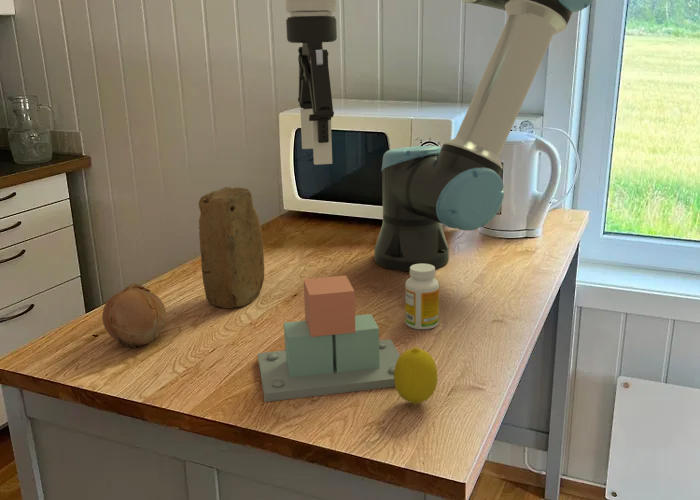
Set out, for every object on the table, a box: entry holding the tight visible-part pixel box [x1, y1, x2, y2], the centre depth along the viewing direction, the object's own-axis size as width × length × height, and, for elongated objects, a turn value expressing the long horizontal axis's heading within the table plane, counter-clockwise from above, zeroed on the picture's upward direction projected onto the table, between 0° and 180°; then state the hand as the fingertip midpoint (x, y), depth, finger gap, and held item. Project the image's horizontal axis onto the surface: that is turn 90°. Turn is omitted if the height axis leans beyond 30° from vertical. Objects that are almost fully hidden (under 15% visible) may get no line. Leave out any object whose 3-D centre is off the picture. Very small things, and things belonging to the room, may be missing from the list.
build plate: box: [257, 313, 401, 403], centre depth 99 cm, size 20×12×7 cm, turn 101°
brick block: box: [303, 275, 356, 337], centre depth 97 cm, size 6×6×6 cm
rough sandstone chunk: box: [198, 186, 265, 309], centre depth 124 cm, size 11×8×20 cm
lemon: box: [394, 346, 438, 406], centre depth 90 cm, size 6×6×8 cm
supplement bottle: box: [404, 263, 440, 330], centre depth 114 cm, size 5×5×10 cm
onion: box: [101, 283, 167, 349], centre depth 110 cm, size 10×9×10 cm
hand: (316, 155), depth 113 cm, fingers open, 13 cm apart
